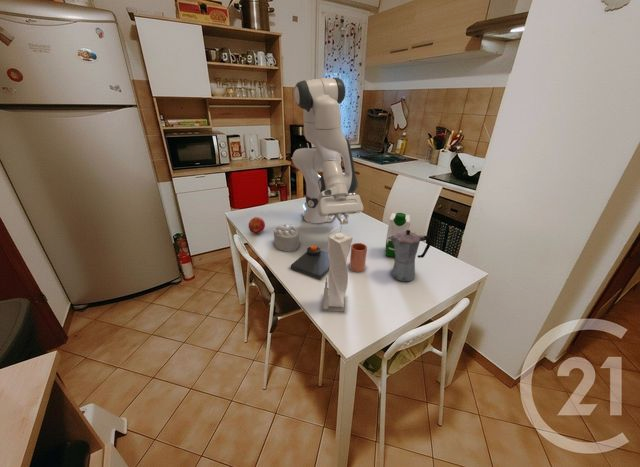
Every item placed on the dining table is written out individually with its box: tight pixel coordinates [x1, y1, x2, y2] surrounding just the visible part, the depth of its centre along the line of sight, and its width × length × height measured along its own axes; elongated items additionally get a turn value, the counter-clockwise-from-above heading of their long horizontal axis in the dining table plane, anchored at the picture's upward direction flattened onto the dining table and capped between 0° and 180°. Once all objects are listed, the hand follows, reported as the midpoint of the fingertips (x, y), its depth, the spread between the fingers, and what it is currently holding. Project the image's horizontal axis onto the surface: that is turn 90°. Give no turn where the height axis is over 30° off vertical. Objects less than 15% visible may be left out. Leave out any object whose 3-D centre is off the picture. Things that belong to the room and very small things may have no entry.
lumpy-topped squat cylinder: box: [273, 224, 300, 252], centre depth 123 cm, size 10×13×9 cm
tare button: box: [309, 244, 318, 252], centre depth 114 cm, size 3×3×2 cm
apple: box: [248, 216, 266, 234], centre depth 134 cm, size 8×8×8 cm
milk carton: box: [385, 212, 411, 259], centre depth 114 cm, size 9×9×20 cm
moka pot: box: [389, 229, 433, 282], centre depth 100 cm, size 10×15×20 cm, turn 88°
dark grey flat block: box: [290, 246, 330, 280], centre depth 110 cm, size 16×14×4 cm
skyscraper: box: [322, 224, 353, 313], centre depth 84 cm, size 8×8×28 cm
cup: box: [349, 242, 368, 273], centre depth 106 cm, size 6×6×10 cm
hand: (344, 224), depth 111 cm, fingers closed
